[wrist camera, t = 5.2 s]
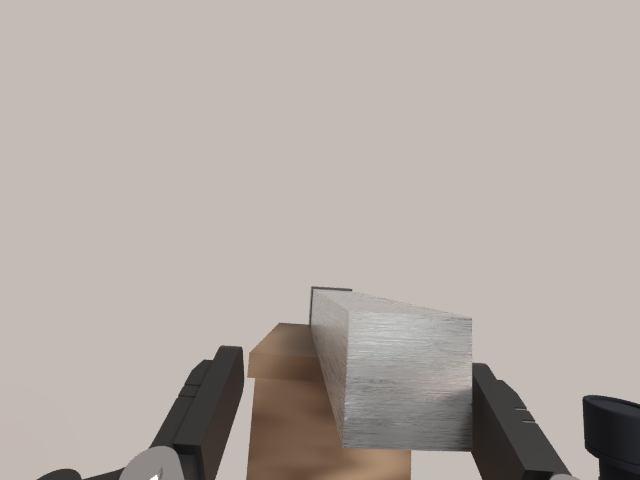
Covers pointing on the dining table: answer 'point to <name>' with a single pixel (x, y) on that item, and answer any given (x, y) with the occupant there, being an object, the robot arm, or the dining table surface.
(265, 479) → the walnut stand
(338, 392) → the aluminium bar
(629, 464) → the wine bottle
